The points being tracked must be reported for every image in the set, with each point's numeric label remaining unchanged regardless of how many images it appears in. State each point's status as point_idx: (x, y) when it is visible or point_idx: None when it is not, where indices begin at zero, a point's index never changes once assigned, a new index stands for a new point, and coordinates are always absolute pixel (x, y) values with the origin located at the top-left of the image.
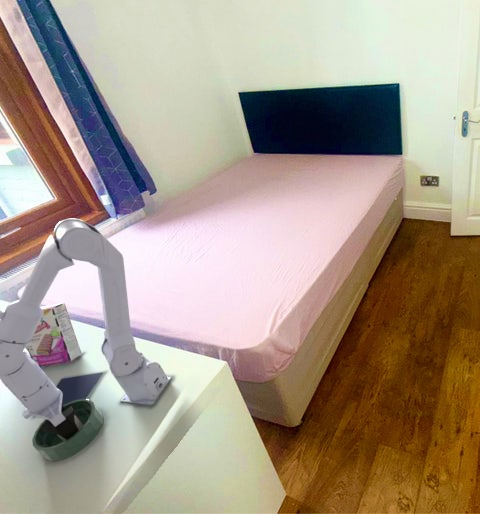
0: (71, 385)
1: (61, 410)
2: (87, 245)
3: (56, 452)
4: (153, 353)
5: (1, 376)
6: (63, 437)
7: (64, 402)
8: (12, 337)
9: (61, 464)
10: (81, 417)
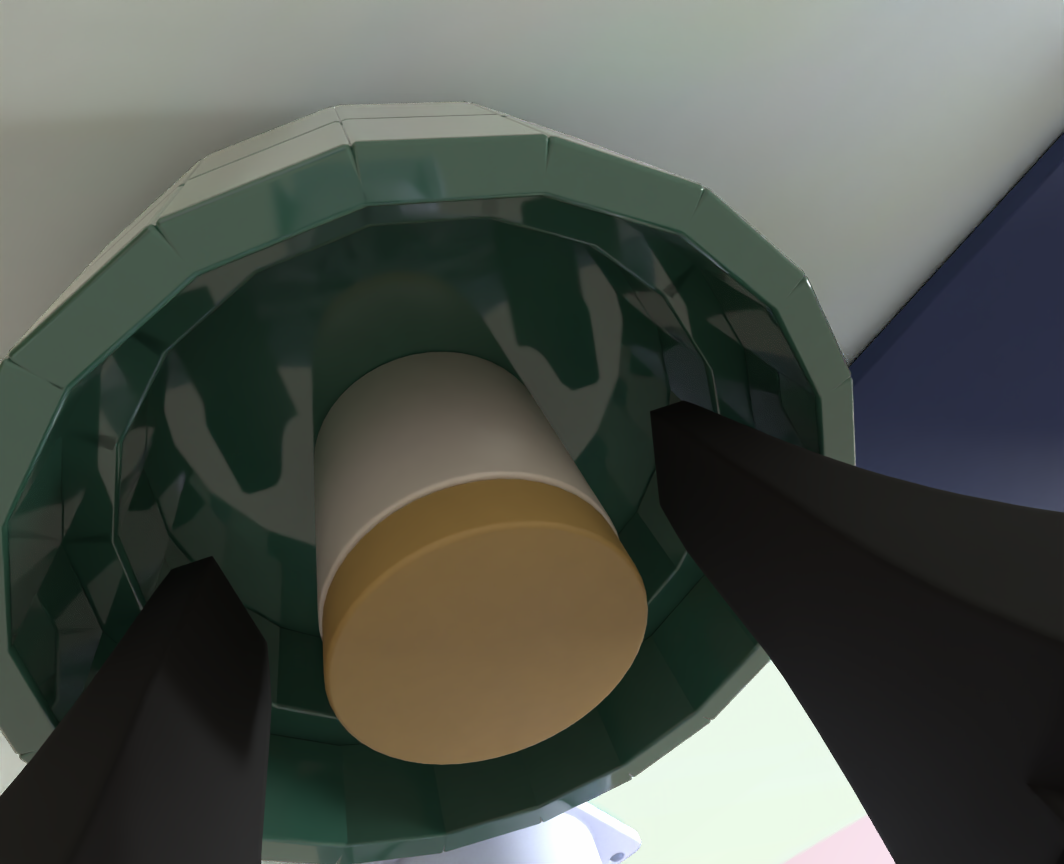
0: None
1: (736, 587)
2: None
3: None
4: (774, 847)
5: None
6: (103, 665)
7: (981, 350)
8: None
9: (30, 308)
10: (613, 508)
